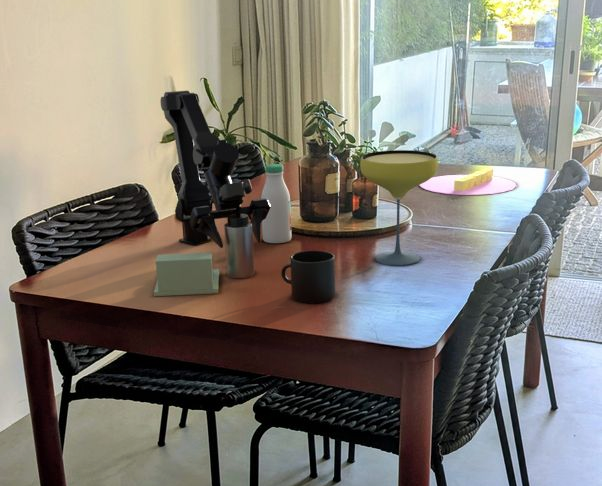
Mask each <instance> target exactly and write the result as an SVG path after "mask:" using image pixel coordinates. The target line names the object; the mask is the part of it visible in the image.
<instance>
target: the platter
mask: <svg viewBox="0 0 602 486" xmlns="http://www.w3.org/2000/svg"><path fill="white" fill-rule="evenodd" d="M419 187H420V188H422V189H423V190H426V191H429V192H432V193H437V194H445V195H456V196H485V195H486V196H487V195H495V194H496V195H497V194H501V193H506V192H509V191H512V190H514V189H515V188H517V184H516V182H515V181H512V180H510V179H507V178H503V177H499V176H494V169H493V168H481V169H480V170H477V171H475V172H474V171H473V173H469V174H450V175H449V174H448V175H440V176H433V177H432V178H431V179H429V180H428V181H426V182H424V183H422V184H420V185H419Z"/></svg>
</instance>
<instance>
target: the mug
mask: <svg viewBox="0 0 602 486" xmlns="http://www.w3.org/2000/svg"><path fill="white" fill-rule="evenodd" d="M335 257H336V256H335V254H333V253H332V252H330V251H326V250H325V251H324V250H315V249H313V250H302V251H298V252H295V253H292V254H291V256H290V260H289V261H290V263H287V264H284V265H283V266H282V268H281V272H280V274H281V277H282V280H283V281H284V282H285V283H287V284H289V285H290V286H291V297H292V299H293V300H294V301H297V302H299V303H303V304H305V303H306V304H320V303H326V302H329V301H331V300H333V299H334V298H335V296H336V258H335ZM289 268H290V279H289V277H287V274H286V271H287V269H289Z"/></svg>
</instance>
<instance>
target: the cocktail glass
mask: <svg viewBox="0 0 602 486" xmlns="http://www.w3.org/2000/svg"><path fill="white" fill-rule="evenodd" d="M359 164H360V168H359V169H360V173H361V174H362V176H363V177H364V178H365V179H367V181H369V182H371V183H373V184H375V185H376V186H378V187H381V188H383V189H384V190H386V191H388V192H389V193H390V195H391V196H392V197H393V199H394V200H396V235H395V247H394V251H391V252H384V253H380V254H378V255H376V257H375V262H377V263H379V264H380V265H381V264H382V265H385V266H392V267H393V266H395V267H399V266H400V267H402V266H411V265H415V264H417V263H419V262H420V260H421V257H420V256H419V255H418V254H415V253H412V252H405V251H404V252H403V251H402V249H401V243H400V242H401V241H400V240H401V239H400V206H401V205H400V204H401V200H402V199H403V198H404V197H405V196H406V195H407V193H408V192H409V191H411V190H412V189H414V188H417V187H418V186H420V184H422V183H424V182H426V181H428V180H429V179H431V178H433V177H435V175H436V174H437V172H438V167H439V160H438V156H437V155H436V154H435V153H433V152H428V151H423V150H422V151H421V150H410V149H404V150H403V149H392V150H391V149H390V150H381V151H380V150H379V151H373V152H369V153H365V154H363V155H362V156H361V158H360V162H359Z"/></svg>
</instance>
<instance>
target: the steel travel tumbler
mask: <svg viewBox="0 0 602 486" xmlns="http://www.w3.org/2000/svg"><path fill="white" fill-rule="evenodd" d="M226 220H227V222H226V223H224V225H223V229H224V243H225V259H226V260H225V261H226V262H225V263H226V275H227V277H229V278H232V279H248V278H250V277H253V276H255V255H254V233H253V231H252V223H250V221H249V217H248V215H247V214H231V215H228V216H227V218H226Z"/></svg>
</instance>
